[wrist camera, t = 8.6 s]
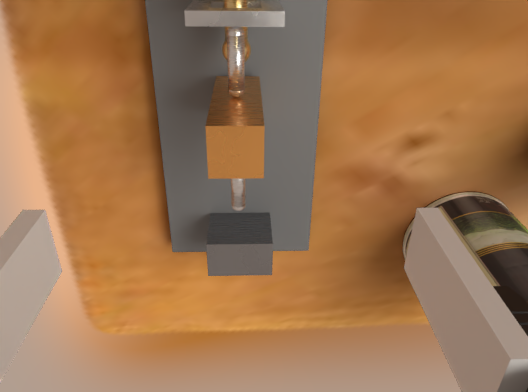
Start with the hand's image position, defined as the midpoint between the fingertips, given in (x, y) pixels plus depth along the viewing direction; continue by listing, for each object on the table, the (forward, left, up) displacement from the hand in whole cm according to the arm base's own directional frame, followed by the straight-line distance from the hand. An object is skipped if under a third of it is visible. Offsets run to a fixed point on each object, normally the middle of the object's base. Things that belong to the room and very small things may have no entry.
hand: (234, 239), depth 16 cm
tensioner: (+12, 0, -19) cm, 22 cm away
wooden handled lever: (0, 0, -18) cm, 18 cm away
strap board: (+1, 0, -20) cm, 20 cm away
